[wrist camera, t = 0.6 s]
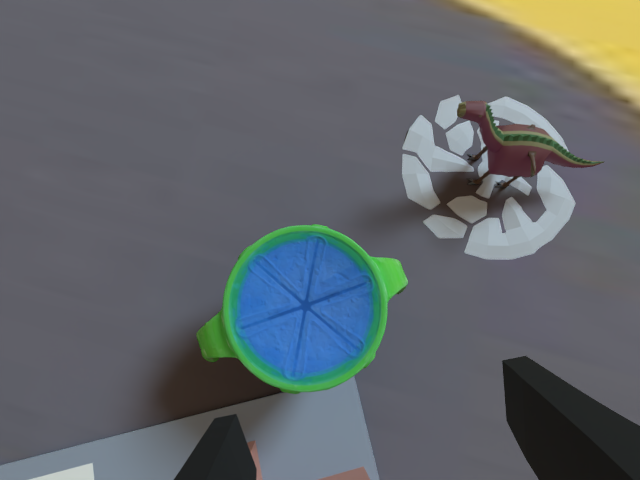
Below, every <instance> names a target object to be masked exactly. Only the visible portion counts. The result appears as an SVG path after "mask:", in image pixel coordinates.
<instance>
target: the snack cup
mask: <svg viewBox="0 0 640 480" xmlns="http://www.w3.org/2000/svg"><path fill="white" fill-rule="evenodd" d="M407 284H408V281H407V278H406V276H405V274H404V271H403V269H402V265H401V263H400V262H399V261H398V260H396V259H392V258H376V257H370V256H369V255H368V254H367V253H366V252H365V251H364V250H363V249H362V248H361V247H360V246H359V245H358V244H357V243H355V242H354V241H353V240H352V239H350V238H348V237H347V236H345V235H343V234H341V233H339V232H337V231H334V230H331V229H329V228H328V227H327V226H322V225H315V224H312V225H311V226H310V225H299V226H290V227H286V228H282V229H279V230H276V231H274V232H271V233H270V234H268V235H266V236H264V237H262V238H261V239H259V240H258V241H256V242H255V243H254V244H253V245H252V246H249V247H247V248H246V249H245V250H244V251H243V252H242V253H241V254H240V255H239V257H238V261H237V262H236V264H235V266H234V267H233V269H232V271H231V273H230V275H229V278H228V281H227V284H226V287H225V291H224V296H223V306H222V309H221V310H220V312H218V314H217V315H216V316H214V317H213V318H212V319H211V320H210V321H208V322H207V323H205V325H204V326H203V327H202V328H200V330H199V331H198V332H197V334H196V336H197V340H198V342H199V346H200V348H201V353H202V356H203V358H204V359H205V360H207V361H209V362H216V361H217V360H218V359H219V357H221V358H222V357H233V358H237V359H239V360H240V361H241V362H242V364H243V365H244V366H245V367H246V368H247V369H248V370H249V371H250V372H251V373H253V374H254V375H255V376H256V377H257V378H259V379H260V380H262V381H263V382H265V383H267V384H269V385H271V386H274V387H277V388H280V390H281V391H282V392H285V393H290V394H299V393H300V392H316V391H322V390H328V389H331V388H333V387H336V386H338V385H340V384H342V383H344V382H346V381H347V380H349V379H350V378H352V377H353V376H354V375H356V374H357V373H358V372H359V371H361V370H362V369H363V368H366V367H367V366H368V365H369V364H370V362H371V361H372V360H373V359H374V358H375V352H376V350H377V349H378V347H379V345H380V342H381V340H382V337H383V334H384V331H385V327H386V321H387V303H388V301H389V300H390V299H391V298H392V297H393V296H394V295H395V294H399V293H401V292H403V290H404V289H405V287H406V286H407Z"/></svg>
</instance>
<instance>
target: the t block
mask: <svg viewBox="0 0 640 480" xmlns="http://www.w3.org/2000/svg"><path fill="white" fill-rule="evenodd" d="M247 444H248V447H249V449H250V452H251V455H252V458H253V460H254V463H255V466H256V468H257V477H256V480H263V479H262V473H261V468H260V463H259V457H258V452H257V446H256V441H251V442H247ZM318 480H370V478H369V476H368V474H367V472H366V470H365V468H364V466H363V467H360V468H356V469H353V470H349V471H346V472H342V473H339V474H335V475H332V476H328V477H325V478H321V479H318Z"/></svg>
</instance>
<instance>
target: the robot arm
mask: <svg viewBox="0 0 640 480" xmlns="http://www.w3.org/2000/svg"><path fill="white" fill-rule="evenodd" d="M502 363H503V376H504V390H505V404H506V417H507V422H508V424H509V426H510V428H511V430H512V432H513V434H514V437H515V439H516V441H517V443H518V445H519V446H520V448H521V450H522V452H523V454H524V456H525V458H526V460H527V462H528V463H529V465H530V466H531V468H532V469H533V471H534V473H535V474H536V476H537V477H538V479H539V480H640V426H639V425H637V424H635V423H633V422H631V421H630V420H628V419H626V418H624V417H623V416H621V415H619V414H618V413H616V412H614V411H612V410H611V409H609V408H607V407H606V406H604V405H602V404H601V403H599V402H597V401H596V400H594V399H592V398H591V397H589V396H588V395H586V394H584V393H583V392H581V391H580V390H578V389H576V388H575V387H573V386H572V385H570V384H568V383H567V382H565V381H564V380H562V379H561V378H559V377H558V376H556V375H554V374H553V373H551V372H550V371H548V370H547V369H545V368H544V367H542V366H541V365H539V364H537V363H536V362H534V361H533V360H531V359H530V358H528V357H526V356H523V357H518V358H513V359H508V360H503V361H502ZM256 477H257V468H256V466H255V463H254V460H253V458H252V455H251V452H250V449H249V447H248V444H247V441H246V439H245V436H244V433H243V430H242V428H241V425H240V422H239V420H238V417H237V414H233V415H228V416H223V417H218V418H214V420H213V421H212V423H211V424H210V426H209V427H208V429H207V430H206V432H205V433H204V435H203V436H202V438H201V439H200V441H199V442H198V444H197V445H196V447H195V448H194V450H193V451H192V453H191V454H190V456H189V458H188V459H187V461H186V462H185V464H184V465H183V467H182V468H181V470H180V471H179V472H178V474H177V475H176V477H175V478H174V480H256Z"/></svg>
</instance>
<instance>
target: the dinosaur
mask: <svg viewBox="0 0 640 480" xmlns="http://www.w3.org/2000/svg"><path fill="white" fill-rule="evenodd" d="M457 117H460V118H463V119H467V120H471V121H474V122H477V123H478V124H479V126H480V128H479V129H478V130H477V133H478V135H479V138H480V141H481V151H480V152H479V154H477V155H470V154H467V155H470V156H472V157H470V158H469V159H467V160H478V159H479V158H480V156H481V155H482V160H483V162H482V163H480V165H479V167H478V174H479V177H480V178H479V179H478V180H472V179H468V180H471V181H472V182H470V183H468V184H474V185H477V184H479V183H481V181H482V180H483V183H482V185H481V186H480V187H479V189H478V190H477V191H476V192H475V193H477V194H478V195H480V196H482V197H485V198H490V195H491V192H492V189H493V185H494V184H497V183H499V184H500V185H498V186H496V187H502V188H505V187H507V186H509V184H510V185H512V186H513V187H515V188H517V189H519V190H520V191H522V192H523V193H525V194H526V195H529V193H530V191H531V188H532V187H531V186H530V185H529V184H528V183H527V182H526V181H525V180H524V179H523V178H522V177H532V176H534V175H538V180H537V191H538V193H539V195H540V197H541V199H542V201H543V204H544V206H545V207H546V209H547V210H546V212H545V213H544V214H543V215H542V216H541V217H540V219H539V220H538V221H537V222H534V223H532V221H531V219H530V218H529V217H528V216H527V215H526V214H525V213H524V212H523V211H522V207H521V206H520V205H519V204H518V203H517V202H516V201H515V199H514V198H513V197H510V198H509V199H507V200H506V201H505V205H504V209H503V213H502V218H503V223H504V227H505V230H507V231H506V233H502V229H501V225H500V221H499V218H487V219H485V220H484V221H482V222H480V223H478V224H477V225H475V226H473V229H472V232H471V234H470V237H469V241H468V244H467V247H466V249H465V252H464V253H467V254H470V255H474V256H477V257H480V258H484V259H504V260H512V259H515V258H519V257H522V256H526V255H530V254H533V253H535V252H536V251H537V249H538V248H540V247H541V246H543V245H544V244H546V243H548V242H549V241H551V240H552V239H553V238H554V237H555V235H556V234H557V233H558V232H559V231H560V229H561V228H562V227H563V226H564V224H565V223H566V222H567V221H569V219H570V216H571V214H572V211H573V208H574V206H575V201H574V199H573V197H572V196H571V194H570V192H569V190H568V188H567V186H566V184H565V183H564V181H563V179H562V178H560V177H559V176H558V175H557V174H556V173H555V172H554V171H553V170H552V169H551V168H550V167H549V166H548V165H546V166H543V164H544V161H548V162H551V163H553V164H556V165H561V166H564V167H572V168H577V167H580V168H584V167H592V166H595V165H598V164H601V163H603V162H600V161H589V160H584V159H580V158H578V157H575V156H574V155H572V154H571V153H570V152H569V151H568V149H567V147H566V145H565V143H564V141H563V139H562V137H561V136H560V135H559V134H558V133H557V131H556V130H555V129H554V128H553V127H552V126H551V124H550V123H549V122H548V121H547V120H546V119H545V118H543V117H542V116H541V115H539V114H538V113H537V112H535V111H534V110H533V109H531V108H530V107H529V106H527V105H525V104H522V103H520V102H518V101H515V100H513V99H511V98H508V97H503V98H501V99H498V100H496V101H494V102H491V103H489V104H487V103H486V102H485V101H465V102H461V100H460V97H459V95H457V96H454V97H452V98H449V99H446V100H443V101H440V105H439V108H438V112H437V115H436V119H435V122H437V123H438V124H439V125H440V126H441V127H442V128H444V129H446V128H447V127H449V126H450V125H451V124H453V123H454V122H455V121H456V119H457ZM494 117H500V118H504V119H506V120H508V121H511V122H513V123H515V124H513V125H506V126H498V125H499V121H495V120H493V118H494ZM473 134H474V131H473V129H472V126H471V123H470V121H466V122H464V123H461V124H458V125H456V126H455V127H454V128H452V129H451V130H450V131H448V132H447V133H446V136H447V140H448V144H449V147H450V150H451V151H453V152H455V153H457V154H459V155H461V156H462V155H463V154H464V152H465V151H466V150H467V149H468V148H470V147H471V146H472V141H473ZM402 149H404V150H409V151H413V152H416V153H417V154H418V156H419V157H420V158H421V160H422V161H423V162H424V164H425V165H426V166H427V167H428V169H429V170H430V171H431V172H440V171H444V172H457V171H459V172H474V168H473V167H472V166H471V165H469V164H468V163H467V162H466V161H465V160H463V159H462V158H460V157H458V156H456V155H454V154H452V153H449V152H447V151H445V150H443V149H441V148H439V147H437V146H435V144H434V139H433V131H432V124H431V123H430V122H429V121H427V120H426V119H425V118H424V117H423V116H422V115H420V116H419V117H418V118H417V120H416V121H415V122H414V124H413V125H412V126H411V127H410V129H409V131H408V133H407V136H406V139H405V142H404V145H403V148H402ZM402 176H403V180H404V184H405V188H406V192H407V196H408V198H409V199H411V200H413V201H414V202H416V203H418V204H420V205H422V206H424V207H425V208H427V209H429V210H431V209H432V208H434V207H435V206H437V205H438V204H440V201H439V199H438V197H437V196H436V194H435V192H434V190H433V187H432V183H431V180H430V176H429V173H428V172H427V171H426V169H425V168H424V167H423V165H422V164H421V163H420V162H419V160H418V159H417V158H416V157H414V156H410V155H405V154H403V162H402ZM521 176H522V177H521ZM501 180H504V181H506V182H505V183H501V182H500V181H501ZM447 205H448V206H449V207H450V208H451V209H452V210H453V211H454V212H455V213H456V214H457V215H458V216H460V217H461V218H463V219H465V220H466V221H468V222H470V223H471V224H472V223H474V222H475V221H477V220H479V219H481V218H482V217H484V216H486V215H487V202H484V201H481V200H479V199H477V198H476V197H474V196H463V197H456V198H455V199H453V200H452V201H450V202H449V203H447ZM423 223H424V224H425V225H426V226H427V227H428V228H429V229H430V230H431V231H432V232H433V233H434V234H435V235H436V236H437V237H438V238H463V237H464V234H465V231H466V229H467V225H465V224H464V223H462V222H460V221H459V220H457V219H455V218H451V217H445V216H439V215H434V214H433V215H432V216H431V217H429V218H428V219H426V220H425V221H423Z"/></svg>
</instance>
